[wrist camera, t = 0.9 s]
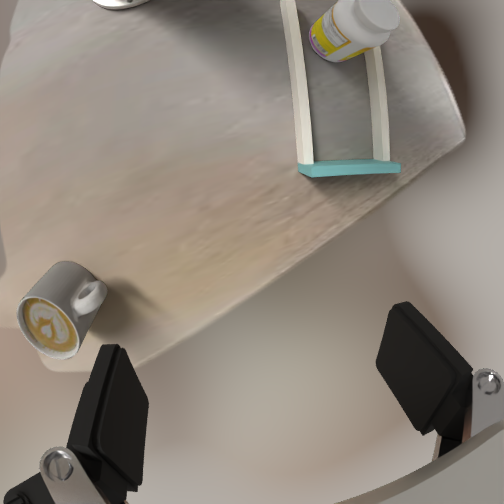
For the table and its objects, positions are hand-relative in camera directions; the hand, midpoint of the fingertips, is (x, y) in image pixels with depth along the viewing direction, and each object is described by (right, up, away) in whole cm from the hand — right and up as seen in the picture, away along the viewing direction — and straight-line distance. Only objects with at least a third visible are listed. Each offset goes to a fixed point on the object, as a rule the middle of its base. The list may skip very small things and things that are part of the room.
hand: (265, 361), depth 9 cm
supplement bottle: (+10, +31, +20) cm, 38 cm away
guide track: (+10, +25, +22) cm, 35 cm away
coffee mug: (-26, -2, +28) cm, 38 cm away
